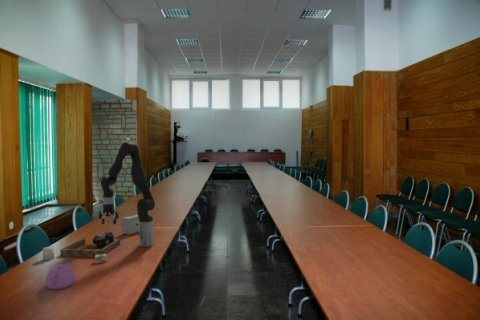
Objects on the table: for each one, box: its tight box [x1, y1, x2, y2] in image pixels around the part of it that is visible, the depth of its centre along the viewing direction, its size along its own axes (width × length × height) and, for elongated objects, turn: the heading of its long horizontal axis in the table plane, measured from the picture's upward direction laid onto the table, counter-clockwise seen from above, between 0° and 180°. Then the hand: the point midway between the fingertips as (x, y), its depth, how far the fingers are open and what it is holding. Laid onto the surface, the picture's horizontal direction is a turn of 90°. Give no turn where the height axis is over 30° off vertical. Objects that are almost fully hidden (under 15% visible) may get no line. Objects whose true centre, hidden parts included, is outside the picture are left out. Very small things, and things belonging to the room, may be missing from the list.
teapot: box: [44, 262, 77, 291], centre depth 174 cm, size 14×20×11 cm
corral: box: [60, 237, 122, 258], centre depth 229 cm, size 28×26×4 cm
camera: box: [92, 231, 115, 250], centre depth 238 cm, size 16×10×10 cm, turn 164°
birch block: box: [94, 254, 107, 264], centre depth 207 cm, size 6×4×4 cm, turn 110°
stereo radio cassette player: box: [121, 210, 139, 236], centre depth 274 cm, size 21×8×20 cm, turn 149°
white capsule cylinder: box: [42, 246, 55, 262], centre depth 212 cm, size 6×6×7 cm
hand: (108, 224), depth 254 cm, fingers open, 8 cm apart
